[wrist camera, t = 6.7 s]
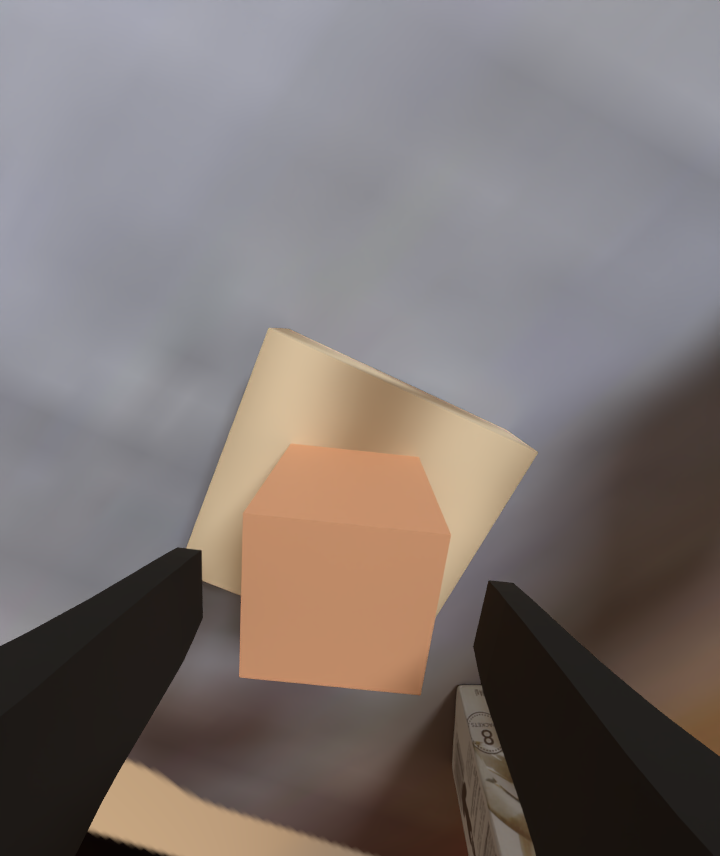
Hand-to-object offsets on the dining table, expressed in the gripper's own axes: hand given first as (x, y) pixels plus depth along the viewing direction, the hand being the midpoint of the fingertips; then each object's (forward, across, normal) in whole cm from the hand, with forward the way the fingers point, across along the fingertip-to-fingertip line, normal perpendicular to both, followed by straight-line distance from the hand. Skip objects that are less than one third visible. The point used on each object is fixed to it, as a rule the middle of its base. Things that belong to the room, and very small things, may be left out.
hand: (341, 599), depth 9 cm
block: (+4, 0, 0) cm, 4 cm away
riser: (+7, 0, 0) cm, 7 cm away
